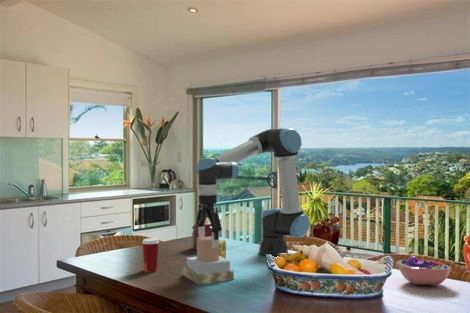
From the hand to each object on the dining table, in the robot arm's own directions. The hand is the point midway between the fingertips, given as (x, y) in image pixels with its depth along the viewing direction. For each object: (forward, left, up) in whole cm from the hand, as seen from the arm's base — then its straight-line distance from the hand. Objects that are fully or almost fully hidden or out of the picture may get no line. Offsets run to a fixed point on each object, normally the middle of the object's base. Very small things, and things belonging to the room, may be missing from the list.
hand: (208, 244), depth 193 cm
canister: (-22, -52, -14) cm, 58 cm away
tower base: (0, 0, -14) cm, 14 cm away
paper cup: (+18, -22, -14) cm, 32 cm away
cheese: (-13, -22, -14) cm, 29 cm away
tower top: (0, 0, -10) cm, 10 cm away
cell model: (-70, +52, -14) cm, 88 cm away
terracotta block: (0, 0, -6) cm, 6 cm away
